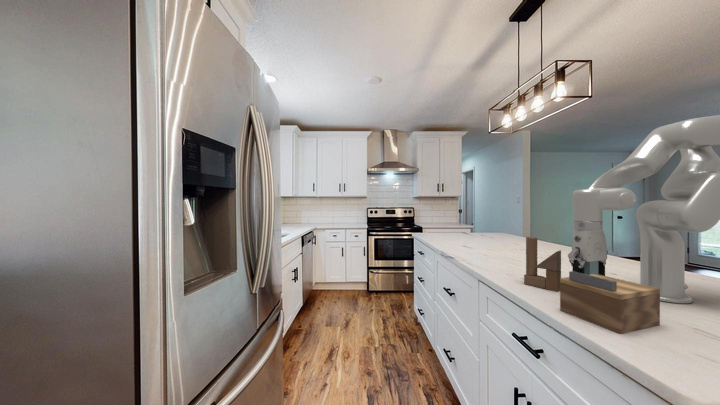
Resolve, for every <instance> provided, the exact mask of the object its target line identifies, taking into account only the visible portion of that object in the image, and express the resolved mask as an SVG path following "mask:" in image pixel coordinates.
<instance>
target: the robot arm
mask: <svg viewBox="0 0 720 405" xmlns="http://www.w3.org/2000/svg"><path fill="white" fill-rule="evenodd" d="M713 146H720V114H718V115H710V116H702V117H695V118H688V119H685V120H681V121H677V122H673V123H669V124H666V125H661V126H658V127H656V128H654V129H653V130H652V131H651V132H649V134H647V136H646V137H645V138H644V139H643V140H642V141H641V142H640V144H639V145H638V146H637V147H636V148H635V149H634V150H633V151H632V153H630V154H629V155H628V157H627V158H626V159H625V160H623V161H622V162H620V163H619V164H617V165H615V166H613V167H612V168H610V169H609V170H607V171H606V172H604V173H603V174H602V175H600V176H599V177H598V178H596V179H595V181H593V183H591V185H590V186H589V187H588V188H587V189H585V188H584V189H582V188H581V189H576V190H574V191H573V192H572V226H573V228H572V230H573V231H572V238H571V239H572V240H571V251H570V252H569V253H568V254H567V257H568V261H569V263H570V266H571V268H572V271H575V272H579V273H583V274H584V268H582V267H583V265H584V263H585V261H586V262H596V261H598V274H599V275H603V276H606V265H607V260H608V255H609V250H608V246H607V240H606V234H605V231H604V217H603V216H604V213H603V211H610V212H611V211H613V212H614V211H615V212H621V211H625V210H629V209H631V208H632V207H634V206H635V204H636V202H637V195H636V194H635V192H633V190H630V189H628V188H626V187H625V188H624V186H626V185H629V184H632V183H634V182H637V181H640V180H641V181H642V180H643V179H646V178H648V177H651V176H653V175H655V174H656V173H658V172H659V171H660V170H661V168H662V167H663V166H664V165H666V163H667V162H668V161H669V160H670V159H671V158H672V156H674V154H676V152H678V151H679V153H680V156H681V159H680V162H679V164H678V165H677V166H676V168H675V169H674V170H673V171H672V173H671V174H670V175H669V177H668V178H667V179H666V180H665V182H664V183H663V185H662V187H661V189H660V194H661V196H662V197H663V200H662V199H661V200H660V199H659V200H658V199H657V200H651V201H646V202H644V203H642V204H641V205H640V206H639V207H638V208H637V210H636V214H635V217H636V221H637V225H638V228H639V236H640V237H639V238H640V240H639V241H640V250H639V251H640V254H639V255H640V259H639V262H640V265H639V268H640V270H639V271H640V272H639V273H640V274H639V276H640V278H639V279H640V283H639V284H642V285H646V286H651V287H655V288H659V289H660V293H659V294H660V302H664V303H665V302H666V303H674V304H692V303H693V297H691V296H690V295H688V294H685V293H686V292H685V290H688V288H689V286H688V284H687V283H685V279H686V278H685V277H686V276H685V273H686V272H685V271H686V270H685V267H686V266H685V265H686V264H685V262H686V260H685V255H686V254H685V252H686V248H685V247H686V245H685V241H684V239H683V237H682V235H681V234H680V233H679V232H684V233H704V232H707V231H709V230H710V229H713V228H714V227H715V226H716V225H717V224H718V223H719V222H720V156H719V155H718V154H717V153H716V152H715V151H714V149H713ZM665 199H666V200H665ZM578 261H580V263H579V262H578Z"/></svg>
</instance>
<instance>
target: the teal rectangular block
mask: <svg viewBox="0 0 720 405" xmlns="http://www.w3.org/2000/svg"><path fill="white" fill-rule="evenodd" d="M578 262H579V263H580V261H578ZM582 268H584V274H587V275H592V274H598V261H596V262H586V261H585V263H584V265H583V267H582Z"/></svg>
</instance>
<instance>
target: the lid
mask: <svg viewBox="0 0 720 405" xmlns="http://www.w3.org/2000/svg"><path fill="white" fill-rule="evenodd" d="M568 276H569V277H567V276H566V277H561V278H560V283H564V284H567V285H571V286H574V287H577V288H581V289H584V290H588V291H591V292H595V293H598V294H601V295H605V296H608V297H612V298H615V299H619V300H624V299H630V298H635V297H641V296H647V295H653V294H659V293H660V289H659V288H655V287H651V286H646V285H642V284H640V283H637V282H633V281H629V280H624V279H621V278H616V277H611V276H606V275H605V276H603V275H599V274H592V275H587V274H583V273H579V272H575V271H573V270H572V271H569V275H568Z"/></svg>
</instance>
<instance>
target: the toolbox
mask: <svg viewBox="0 0 720 405" xmlns="http://www.w3.org/2000/svg"><path fill="white" fill-rule="evenodd" d="M559 310H560V312H563V313H566V314H569V315H571V316H573V317H576V318H579V319H581V320H583V321H586V322H588V323H592V324H594V325H596V326H599V327H602V328H605V329H607V330H609V331H612V332H615V333H617V334H620V335H622V334H623V335H624V334H626V333H631V332H635V331H640V330H644V329H648V328H653V327H658V326H660V323H661V301H660V294H653V295H647V296H641V297H635V298H630V299H624V300H619V299H615V298H612V297H608V296H605V295H601V294H598V293H595V292H591V291H588V290H584V289H581V288H577V287H574V286H571V285H567V284H564V283H560V291H559Z"/></svg>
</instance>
